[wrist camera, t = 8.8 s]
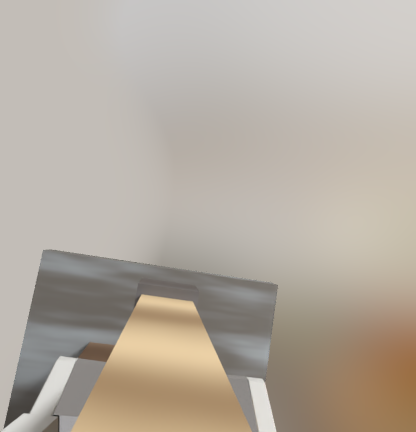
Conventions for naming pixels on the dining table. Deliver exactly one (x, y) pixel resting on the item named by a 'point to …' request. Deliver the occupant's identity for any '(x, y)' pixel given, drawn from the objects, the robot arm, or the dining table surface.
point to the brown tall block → (120, 313)
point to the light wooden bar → (163, 371)
